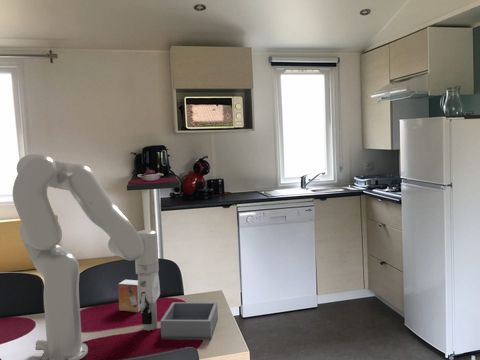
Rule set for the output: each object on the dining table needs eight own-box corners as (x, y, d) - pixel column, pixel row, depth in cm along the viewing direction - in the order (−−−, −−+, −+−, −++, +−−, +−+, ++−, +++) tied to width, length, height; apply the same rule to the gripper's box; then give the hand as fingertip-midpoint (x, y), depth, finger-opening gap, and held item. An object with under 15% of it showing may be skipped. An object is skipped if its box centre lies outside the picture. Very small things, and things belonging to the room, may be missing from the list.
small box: (119, 311, 159) (117, 283, 158) (126, 305, 165) (125, 279, 164) (138, 312, 157) (137, 284, 156) (145, 306, 163) (144, 280, 162)
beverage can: (154, 331, 140) (152, 296, 139) (140, 331, 141) (138, 295, 140) (159, 325, 145) (158, 291, 144) (146, 324, 146) (144, 290, 145)
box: (161, 339, 135) (160, 320, 134) (173, 318, 151) (172, 302, 150) (211, 339, 133) (210, 321, 133) (217, 318, 149) (217, 302, 149)
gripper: (150, 275, 133) (153, 331, 134) (164, 260, 150) (167, 310, 151) (127, 275, 133) (130, 331, 135) (144, 260, 150) (146, 310, 152)
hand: (149, 319), depth 143 cm, fingers closed on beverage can, 4 cm apart
